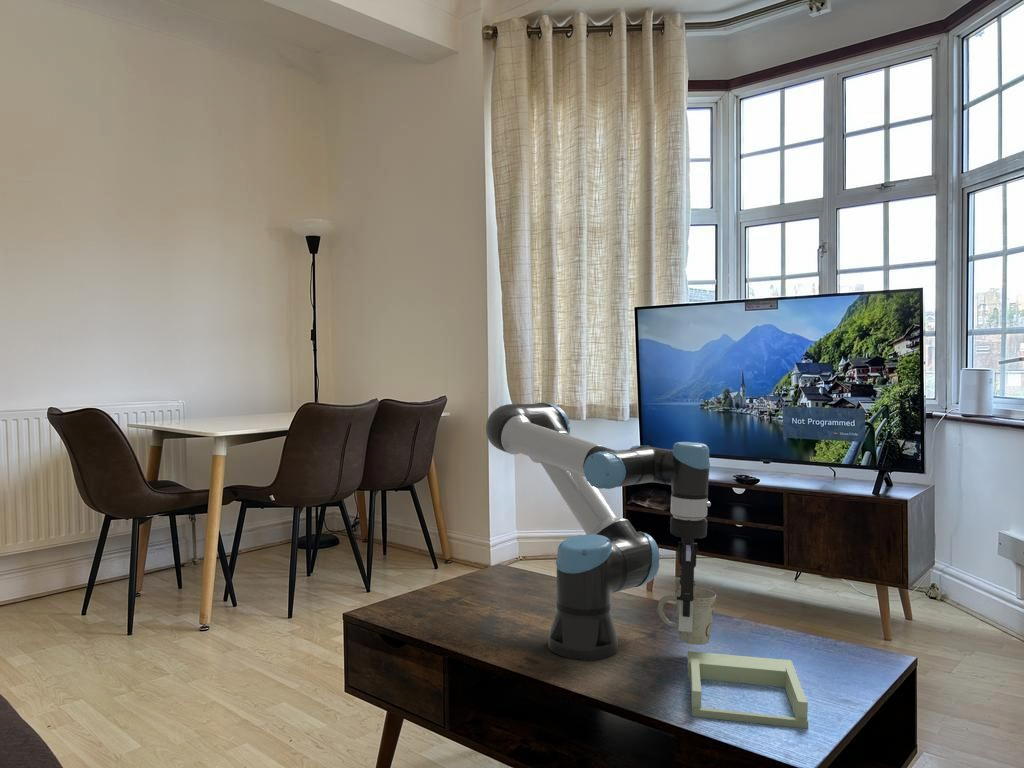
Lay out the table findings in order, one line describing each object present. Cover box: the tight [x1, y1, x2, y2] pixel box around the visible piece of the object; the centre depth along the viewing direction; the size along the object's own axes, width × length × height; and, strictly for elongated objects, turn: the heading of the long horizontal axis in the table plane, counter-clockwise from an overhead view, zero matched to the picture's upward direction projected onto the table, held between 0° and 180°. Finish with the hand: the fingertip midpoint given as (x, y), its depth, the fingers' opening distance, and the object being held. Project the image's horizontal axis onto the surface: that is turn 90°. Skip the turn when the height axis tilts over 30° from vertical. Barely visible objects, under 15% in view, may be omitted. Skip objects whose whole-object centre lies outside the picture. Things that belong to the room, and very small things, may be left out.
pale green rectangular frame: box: [687, 650, 809, 729], centre depth 138 cm, size 20×22×4 cm
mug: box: [657, 586, 717, 646], centre depth 157 cm, size 8×13×10 cm, turn 58°
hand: (685, 623), depth 156 cm, fingers closed on mug, 8 cm apart
